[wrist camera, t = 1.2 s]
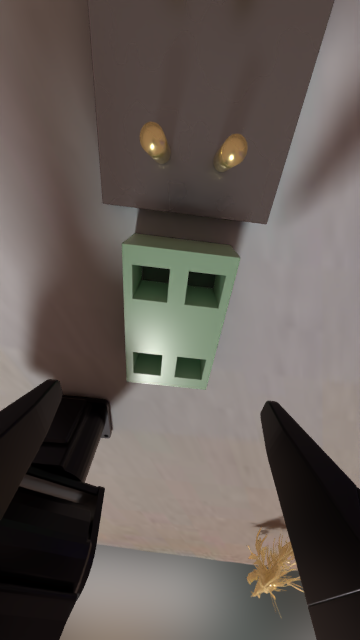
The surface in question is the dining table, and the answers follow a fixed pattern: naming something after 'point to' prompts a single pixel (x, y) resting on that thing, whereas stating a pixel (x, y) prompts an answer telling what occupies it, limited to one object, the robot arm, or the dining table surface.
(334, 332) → the dining table surface
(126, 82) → the grey peg plate
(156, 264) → the green block with holes
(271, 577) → the straw tuft
